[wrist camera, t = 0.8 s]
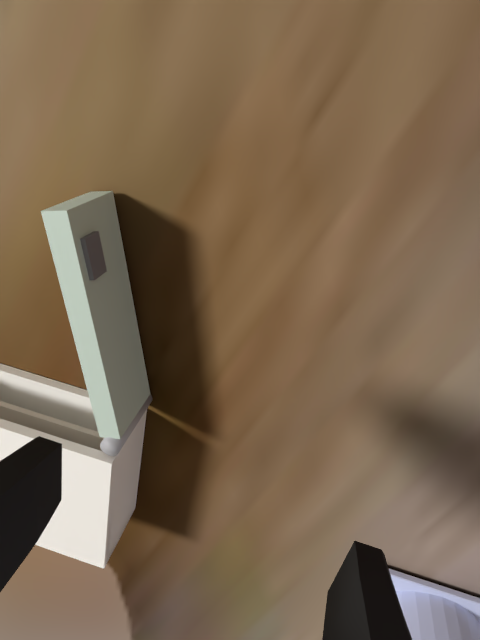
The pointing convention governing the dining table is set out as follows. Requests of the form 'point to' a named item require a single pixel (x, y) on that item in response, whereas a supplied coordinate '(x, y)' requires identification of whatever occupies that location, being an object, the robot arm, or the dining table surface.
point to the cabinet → (73, 463)
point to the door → (100, 311)
